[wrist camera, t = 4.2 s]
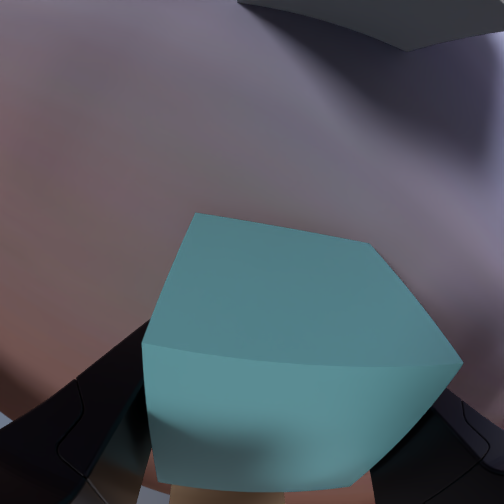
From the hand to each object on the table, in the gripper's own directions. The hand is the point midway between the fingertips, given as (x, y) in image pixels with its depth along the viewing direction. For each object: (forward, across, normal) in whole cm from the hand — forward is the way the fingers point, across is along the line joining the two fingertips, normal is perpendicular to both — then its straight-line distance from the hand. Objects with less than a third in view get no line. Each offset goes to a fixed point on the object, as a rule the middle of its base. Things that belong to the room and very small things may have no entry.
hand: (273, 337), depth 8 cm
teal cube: (+2, 0, 0) cm, 2 cm away
